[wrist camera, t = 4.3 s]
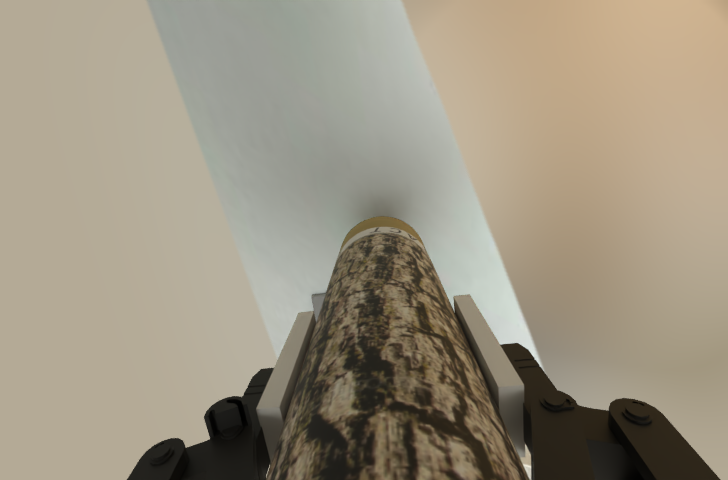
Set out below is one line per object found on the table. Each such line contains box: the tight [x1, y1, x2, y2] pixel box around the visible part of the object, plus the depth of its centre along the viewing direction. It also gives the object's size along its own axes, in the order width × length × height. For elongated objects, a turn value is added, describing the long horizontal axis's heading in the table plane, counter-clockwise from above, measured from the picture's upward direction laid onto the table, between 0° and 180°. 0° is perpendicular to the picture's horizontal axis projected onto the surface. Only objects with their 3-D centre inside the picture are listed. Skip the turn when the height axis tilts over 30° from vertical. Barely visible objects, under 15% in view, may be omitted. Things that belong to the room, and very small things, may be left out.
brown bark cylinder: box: [266, 216, 530, 480], centre depth 17 cm, size 7×7×25 cm
